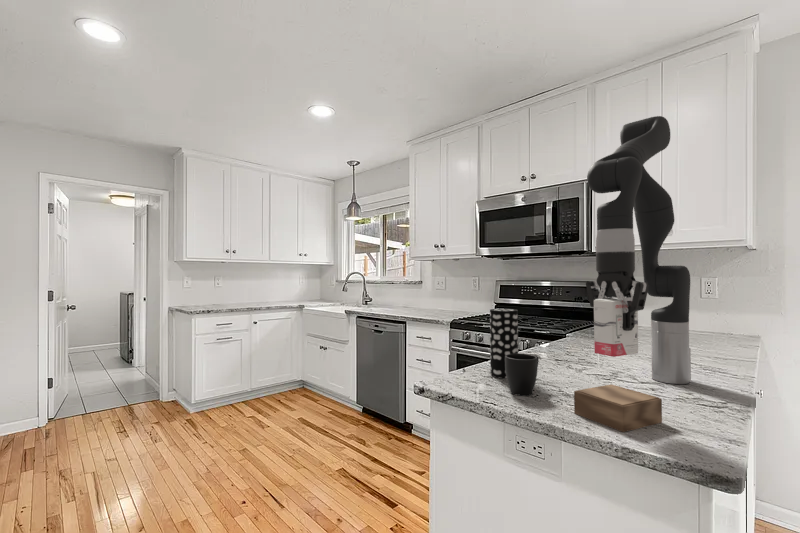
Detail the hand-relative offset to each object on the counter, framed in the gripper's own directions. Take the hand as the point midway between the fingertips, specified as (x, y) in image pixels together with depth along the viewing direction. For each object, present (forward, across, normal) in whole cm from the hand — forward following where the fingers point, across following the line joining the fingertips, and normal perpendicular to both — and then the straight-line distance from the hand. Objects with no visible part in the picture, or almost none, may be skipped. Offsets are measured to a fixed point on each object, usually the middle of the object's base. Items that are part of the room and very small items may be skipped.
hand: (615, 328), depth 90 cm
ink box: (+6, 0, 0) cm, 6 cm away
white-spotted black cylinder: (+20, +40, -2) cm, 44 cm away
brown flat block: (+19, 0, 0) cm, 19 cm away
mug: (+20, +24, +4) cm, 31 cm away
